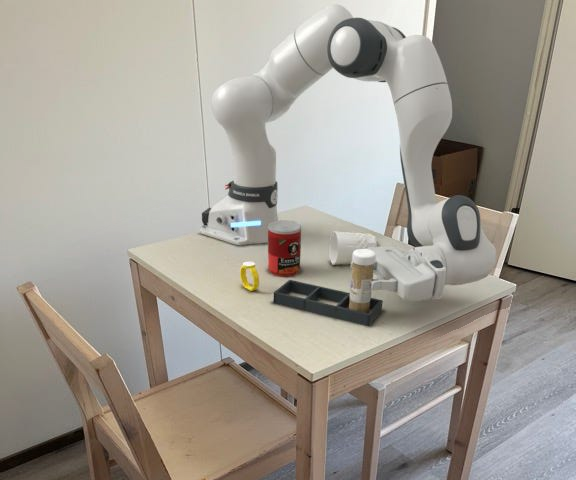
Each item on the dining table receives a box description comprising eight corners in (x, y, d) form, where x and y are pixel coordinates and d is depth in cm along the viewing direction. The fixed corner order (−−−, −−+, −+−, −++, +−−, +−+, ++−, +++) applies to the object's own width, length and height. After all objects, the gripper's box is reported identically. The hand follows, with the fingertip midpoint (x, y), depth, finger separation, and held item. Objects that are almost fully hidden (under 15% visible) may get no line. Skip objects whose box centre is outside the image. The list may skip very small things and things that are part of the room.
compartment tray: (273, 303, 129) (273, 292, 127) (289, 289, 135) (289, 279, 133) (369, 326, 121) (370, 315, 119) (381, 310, 127) (382, 300, 125)
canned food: (279, 279, 139) (280, 233, 133) (261, 268, 145) (261, 223, 138) (306, 272, 143) (308, 227, 137) (288, 261, 148) (288, 218, 142)
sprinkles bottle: (344, 310, 126) (348, 249, 118) (362, 306, 128) (368, 246, 120) (354, 320, 123) (360, 257, 115) (373, 316, 124) (380, 254, 117)
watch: (262, 292, 133) (262, 267, 130) (251, 295, 132) (251, 269, 129) (248, 282, 137) (247, 258, 134) (237, 285, 136) (236, 260, 133)
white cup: (378, 262, 144) (338, 261, 142) (367, 266, 151) (329, 266, 149) (377, 228, 143) (337, 228, 141) (366, 235, 151) (328, 235, 149)
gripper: (401, 236, 130) (342, 242, 127) (450, 272, 114) (384, 280, 110) (397, 263, 134) (340, 270, 130) (444, 302, 118) (381, 311, 114)
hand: (361, 275), depth 120 cm, fingers open, 8 cm apart
